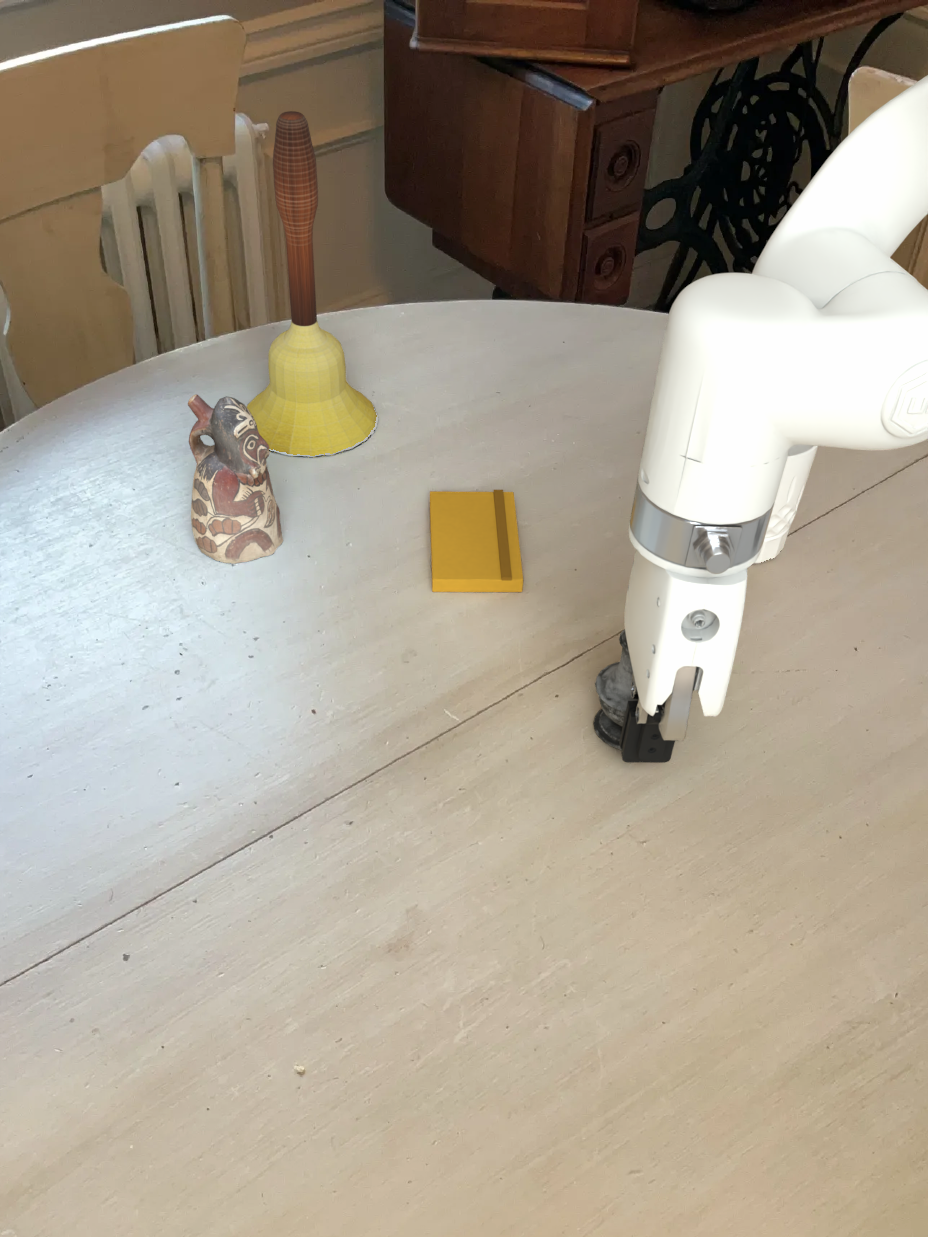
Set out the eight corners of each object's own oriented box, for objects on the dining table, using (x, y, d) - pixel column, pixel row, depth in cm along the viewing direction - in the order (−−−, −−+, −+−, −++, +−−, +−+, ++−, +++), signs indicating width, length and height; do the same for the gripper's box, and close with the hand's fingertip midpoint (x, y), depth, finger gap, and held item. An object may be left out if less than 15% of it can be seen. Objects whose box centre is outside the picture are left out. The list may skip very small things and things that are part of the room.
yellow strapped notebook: (429, 503, 106) (429, 488, 104) (512, 504, 106) (513, 489, 105) (432, 592, 98) (432, 577, 97) (522, 592, 98) (523, 577, 97)
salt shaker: (580, 703, 90) (600, 557, 81) (659, 697, 90) (688, 552, 82) (601, 758, 86) (624, 610, 77) (684, 751, 86) (716, 604, 78)
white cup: (721, 501, 107) (745, 391, 99) (806, 535, 104) (837, 424, 96) (676, 545, 102) (698, 434, 95) (764, 581, 100) (793, 469, 92)
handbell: (393, 395, 117) (392, 96, 98) (357, 466, 109) (347, 155, 90) (266, 376, 118) (240, 78, 99) (222, 445, 110) (184, 136, 92)
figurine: (260, 572, 99) (246, 433, 90) (178, 552, 100) (156, 413, 91) (296, 522, 103) (286, 385, 94) (217, 504, 105) (200, 367, 96)
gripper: (796, 599, 65) (720, 838, 79) (740, 445, 75) (681, 680, 89) (652, 597, 65) (601, 837, 78) (615, 441, 75) (575, 679, 88)
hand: (643, 753), depth 84 cm, fingers closed
